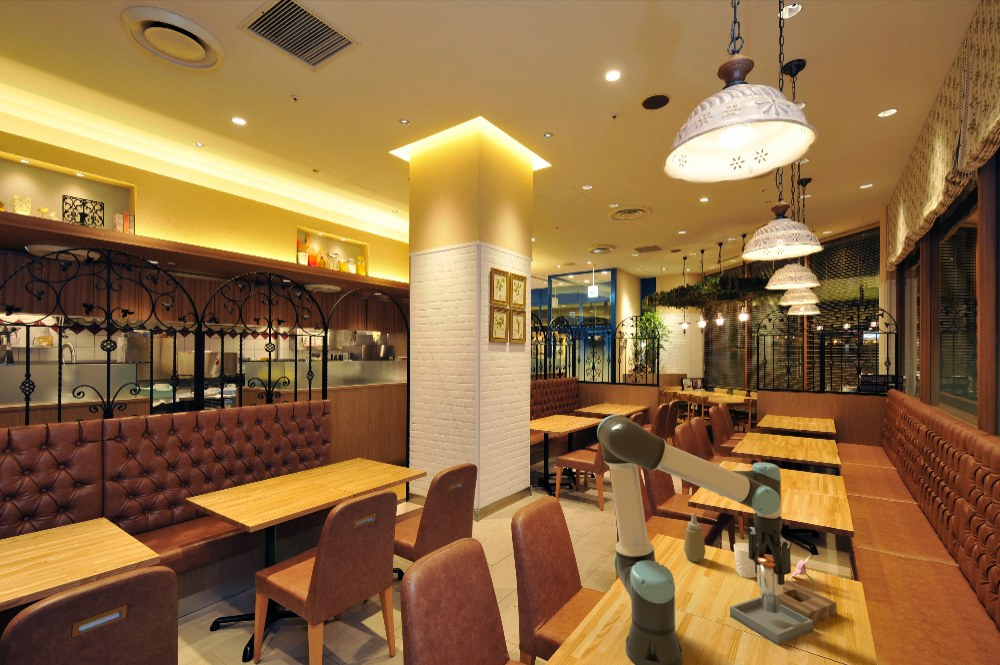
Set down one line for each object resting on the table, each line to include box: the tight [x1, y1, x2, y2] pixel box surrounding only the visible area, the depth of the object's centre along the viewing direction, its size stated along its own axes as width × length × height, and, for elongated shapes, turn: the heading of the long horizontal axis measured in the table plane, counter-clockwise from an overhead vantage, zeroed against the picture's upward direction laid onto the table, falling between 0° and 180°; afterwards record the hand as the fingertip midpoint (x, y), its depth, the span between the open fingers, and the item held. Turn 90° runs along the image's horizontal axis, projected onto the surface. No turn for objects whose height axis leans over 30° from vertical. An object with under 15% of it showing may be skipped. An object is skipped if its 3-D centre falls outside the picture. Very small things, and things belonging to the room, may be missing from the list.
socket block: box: [780, 579, 838, 626], centre depth 154 cm, size 14×16×4 cm
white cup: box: [733, 542, 757, 579], centre depth 177 cm, size 8×8×10 cm
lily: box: [787, 555, 815, 586], centre depth 171 cm, size 12×12×10 cm
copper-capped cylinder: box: [757, 553, 780, 613], centre depth 146 cm, size 6×6×15 cm
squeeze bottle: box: [683, 513, 706, 563], centre depth 189 cm, size 8×8×18 cm
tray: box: [729, 596, 814, 646], centre depth 146 cm, size 16×16×3 cm
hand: (769, 589), depth 146 cm, fingers closed on copper-capped cylinder, 5 cm apart
